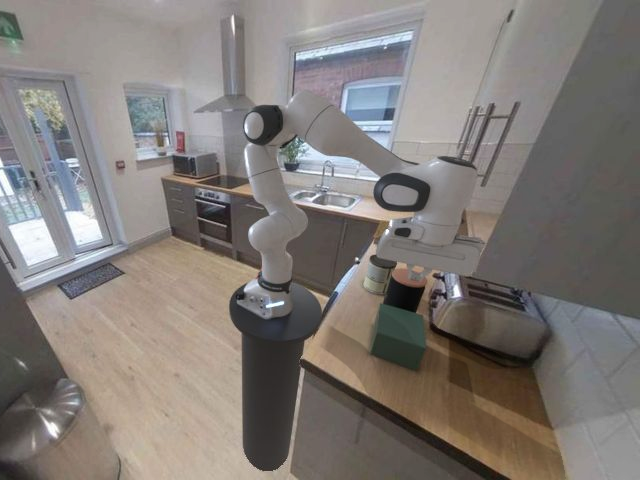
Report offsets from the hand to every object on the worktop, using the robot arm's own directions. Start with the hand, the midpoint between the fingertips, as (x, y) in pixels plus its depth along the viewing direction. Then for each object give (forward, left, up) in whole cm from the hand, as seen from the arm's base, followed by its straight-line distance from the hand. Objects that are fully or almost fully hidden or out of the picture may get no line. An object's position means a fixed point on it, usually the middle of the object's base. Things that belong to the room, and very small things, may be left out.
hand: (414, 279), depth 65 cm
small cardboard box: (-1, +105, -31) cm, 109 cm away
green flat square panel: (+2, +8, -22) cm, 24 cm away
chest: (+2, +8, -31) cm, 32 cm away
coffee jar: (+3, +25, -31) cm, 40 cm away
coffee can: (-5, +41, -31) cm, 52 cm away
